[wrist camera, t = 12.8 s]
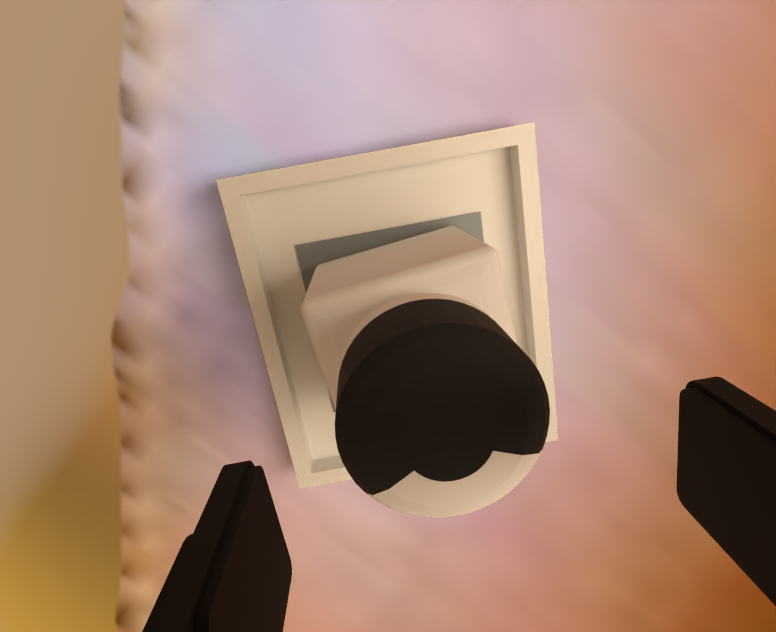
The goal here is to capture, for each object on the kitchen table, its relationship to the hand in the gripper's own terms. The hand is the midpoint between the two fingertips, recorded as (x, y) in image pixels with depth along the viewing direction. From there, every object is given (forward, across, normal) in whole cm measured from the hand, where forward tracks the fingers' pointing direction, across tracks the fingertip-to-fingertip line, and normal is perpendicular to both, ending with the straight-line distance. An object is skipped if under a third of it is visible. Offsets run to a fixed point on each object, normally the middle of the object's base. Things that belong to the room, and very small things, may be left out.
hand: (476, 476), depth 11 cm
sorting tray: (+15, +1, +1) cm, 15 cm away
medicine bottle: (+14, 0, +1) cm, 14 cm away
